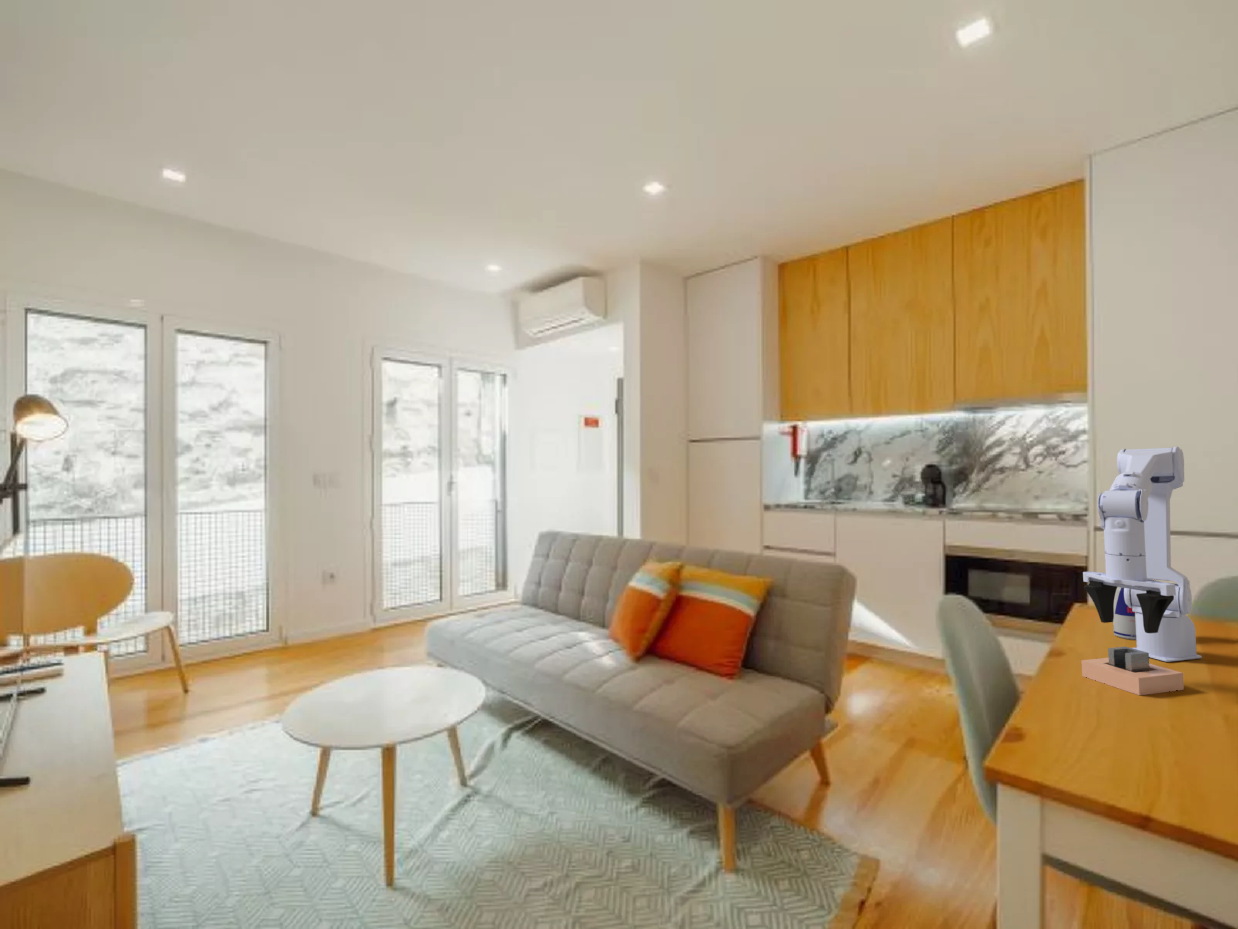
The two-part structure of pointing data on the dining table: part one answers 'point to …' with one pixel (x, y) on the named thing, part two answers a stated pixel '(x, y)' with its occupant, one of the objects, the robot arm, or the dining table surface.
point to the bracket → (1129, 659)
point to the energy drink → (1123, 617)
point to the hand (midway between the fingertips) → (1128, 627)
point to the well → (1133, 677)
